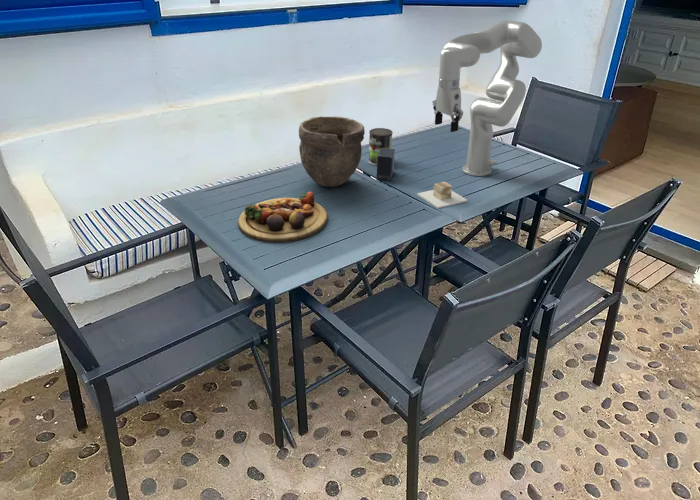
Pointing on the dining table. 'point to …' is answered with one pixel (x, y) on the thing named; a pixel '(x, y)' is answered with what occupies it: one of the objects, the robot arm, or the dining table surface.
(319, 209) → the wooden plate with food
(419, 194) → the off-white board
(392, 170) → the small box
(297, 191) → the dining table surface
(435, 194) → the maple cube
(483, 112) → the robot arm
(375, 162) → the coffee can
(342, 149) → the clay pot
